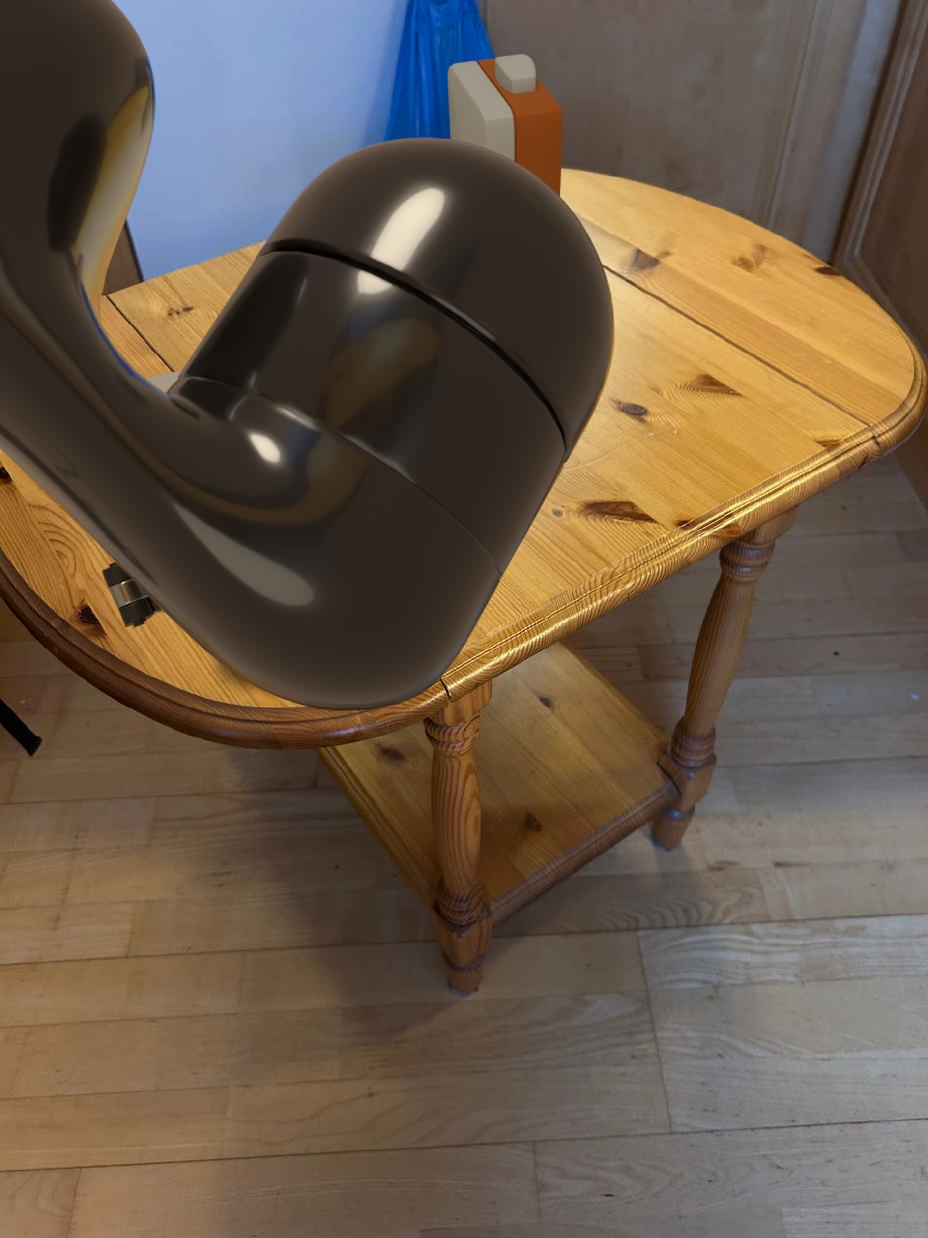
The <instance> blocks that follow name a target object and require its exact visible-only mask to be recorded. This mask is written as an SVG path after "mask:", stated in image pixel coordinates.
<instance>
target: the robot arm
mask: <svg viewBox="0 0 928 1238" xmlns="http://www.w3.org/2000/svg"><path fill="white" fill-rule="evenodd" d="M155 81H156V80H155V76H154V72H153V67H152V64H151V59H150V56H149V54H148V52H147V49H146V48H145V45H144V43H143V41H142V39H141V37H140V35H139V33H138V31H137V30H136V28H135V27H134V25H133V24H132V23H131V22H130V20H129V19H128V17H127V16H126V14H125V13H124V12H123V11H122V10H121V9H120V8H119V6H118V5H117V4H116V3H115V1H113V0H0V450H1V451H2V452H3V453H4V454H5V455H7V456H8V457H9V459H11V460H12V461H13V462H14V464H16V465H17V467H20V469H21V470H23V471H24V472H25V474H27V475H28V476H29V477H30V478H31V479H32V480H33V481H34V482H35V483H37V485H38V486H40V487H41V488H42V489H43V490H44V491H45V492H46V493H47V494H48V495H50V496H51V498H53V499H54V500H55V501H56V502H57V503H58V504H59V505H60V506H61V507H62V508H63V509H64V510H65V511H66V512H67V513H68V514H69V515H70V517H72V519H73V520H75V522H76V523H77V524H78V525H79V526H81V528H82V529H83V530H84V531H85V533H87V534H88V535H89V536H90V537H91V538H92V540H94V541H95V542H96V543H97V544H98V545H99V546H100V548H101V549H102V550H104V552H105V553H106V554H107V555H108V556H109V557H110V558H111V559H112V560H113V561H114V562H112V563H111V562H110V563H109V564H108V566H109V567H107V568H105V569H102V570H101V574H102V576H103V579H104V581H105V583H106V586H107V588H108V590H109V592H110V595H111V597H112V599H113V601H114V604H115V607H116V608H117V610H118V613H119V616H120V617H121V620H122V623H123V626H124V627H125V628H128V627H131V626H133V627H134V629H135V628H138V627H140V626H142V625H144V624H145V622H147V621H148V619H151V618H152V617H153V616H154V615H157V614H159V613H163V614H166V615H167V616H168V617H169V618H170V619H171V620H172V621H173V622H174V623H175V624H176V625H177V626H178V627H179V628H180V629H182V631H184V633H186V634H187V635H188V636H189V637H190V638H191V639H192V640H193V641H194V642H195V643H196V644H197V645H198V646H200V648H201V649H202V650H204V651H205V652H206V653H208V654H209V655H210V656H211V657H213V658H214V659H215V660H217V661H218V662H219V663H220V664H222V665H223V666H224V667H225V668H227V669H228V670H230V671H231V672H232V673H234V674H235V675H236V676H238V677H239V678H241V679H242V680H244V681H246V682H248V683H249V684H251V685H253V686H255V687H256V688H258V689H260V690H262V691H264V692H265V693H268V694H270V695H272V696H275V697H276V698H279V699H282V700H285V701H288V702H290V703H291V702H292V703H294V704H297V705H298V706H304V707H309V708H312V709H313V708H314V709H317V710H325V711H331V712H332V711H334V712H348V711H349V712H351V711H352V712H353V711H355V712H356V711H361V712H362V711H372V710H377V709H382V708H386V707H392V706H397V705H400V704H403V703H405V702H407V701H409V700H412V699H414V698H417V697H419V696H420V695H422V694H423V693H426V692H427V691H428V690H429V689H431V688H432V687H433V686H434V685H435V684H436V683H437V682H438V681H439V680H441V678H443V676H444V675H445V674H446V672H447V671H448V670H449V668H450V667H451V666H452V665H453V663H454V662H455V660H456V659H457V658H458V657H459V655H460V654H461V652H462V651H463V650H464V647H465V645H466V643H467V642H468V640H469V639H470V637H471V635H472V633H473V632H474V630H475V628H476V627H477V625H478V623H479V621H480V619H481V618H482V615H483V614H484V612H485V610H486V609H487V606H488V605H489V603H490V601H491V599H492V597H493V595H494V594H495V592H496V590H497V588H498V586H499V585H500V582H501V579H503V576H504V574H505V572H506V571H507V569H508V567H509V565H510V563H511V562H512V560H513V558H514V556H515V555H516V553H517V552H518V550H519V547H520V546H521V544H522V542H523V541H524V539H525V537H526V535H527V534H528V532H529V530H530V528H531V526H532V525H533V523H534V521H535V520H536V517H537V515H539V513H540V511H541V508H542V507H543V506H544V504H545V501H546V500H547V499H548V496H549V495H550V493H551V492H552V489H553V487H554V485H555V484H556V482H557V480H558V479H559V477H560V475H561V474H562V472H563V470H564V468H565V464H566V463H567V462H568V461H569V459H570V457H571V456H572V455H573V452H574V450H575V448H576V447H577V445H578V443H579V441H580V440H581V437H582V436H583V434H584V432H585V430H586V429H587V427H588V425H589V423H590V421H591V419H592V417H593V416H594V414H595V411H596V410H597V407H598V404H599V402H600V400H601V397H602V394H603V392H604V390H605V387H606V384H607V382H608V377H609V375H610V370H611V367H612V366H611V365H612V361H613V357H614V356H613V355H614V349H615V311H614V303H613V297H612V292H611V288H610V284H609V280H608V277H607V274H606V271H605V268H604V265H603V262H602V260H601V258H600V256H599V255H600V254H599V252H598V251H597V249H596V247H595V244H594V243H593V240H592V238H591V236H590V235H589V233H588V232H587V230H586V228H585V226H584V225H583V223H582V222H581V219H579V217H578V216H577V215H576V213H574V211H573V209H572V208H571V207H570V206H569V205H568V204H567V203H566V201H565V200H564V199H563V198H562V197H561V195H560V196H559V195H558V194H557V193H556V192H555V191H554V190H553V189H552V188H550V187H549V186H548V185H547V184H546V183H545V182H544V181H542V180H541V179H540V178H539V177H537V176H536V175H535V174H533V173H532V172H530V171H529V170H528V169H526V168H525V167H523V166H522V165H520V164H518V163H516V162H514V161H513V160H511V159H509V158H507V157H505V156H503V155H501V154H498V153H496V152H494V151H491V150H489V149H487V148H483V147H480V146H477V145H474V144H471V143H467V142H462V141H457V140H452V139H451V138H442V137H431V136H429V137H428V136H426V137H425V136H424V137H407V138H399V139H397V138H396V139H391V140H387V141H382V142H377V143H374V144H369V145H368V146H365V147H362V148H359V149H356V150H355V151H353V152H350V153H348V154H346V155H344V156H343V157H341V158H339V159H337V160H335V161H334V162H333V163H331V164H329V165H328V166H327V167H325V168H324V169H323V170H321V172H319V173H317V175H315V176H314V177H313V178H312V180H311V181H309V183H308V184H306V186H304V188H303V189H302V190H301V191H300V192H299V193H298V195H297V196H296V197H295V198H294V199H293V201H292V202H291V203H290V205H289V207H288V208H287V209H286V211H285V212H284V213H283V215H282V216H281V218H280V219H279V221H278V222H277V224H276V225H275V227H274V229H272V231H271V232H270V234H269V236H268V238H267V239H266V240H265V242H264V244H263V245H262V247H261V248H260V250H259V251H258V252H257V254H256V256H255V259H254V261H253V262H252V264H251V265H250V267H249V268H248V270H247V271H246V273H245V275H244V276H243V278H242V279H241V281H240V282H239V284H238V285H237V286H236V288H235V289H234V291H233V293H232V294H231V295H230V297H229V299H228V300H227V302H226V303H225V304H224V306H223V308H222V309H221V311H220V312H219V314H218V315H217V317H216V318H215V319H214V321H213V323H212V324H211V326H210V327H209V329H208V330H207V332H206V333H205V334H204V337H203V338H202V340H201V341H200V342H199V344H198V345H197V347H196V348H195V349H194V352H193V353H192V355H191V356H190V358H189V359H188V360H187V362H186V363H185V365H184V366H183V368H182V369H181V370H182V371H181V370H180V371H181V373H180V374H179V376H178V380H177V381H176V382H175V383H174V384H173V385H172V386H171V387H170V388H169V389H168V390H167V391H166V393H165V392H164V391H162V390H161V389H159V388H158V387H157V386H155V385H154V384H153V383H151V382H150V381H148V380H147V379H146V378H147V377H145V376H144V375H142V374H141V373H140V372H139V371H138V370H137V369H136V368H135V367H134V366H133V365H132V364H131V363H130V362H129V361H128V360H127V359H126V358H125V357H124V355H123V354H122V352H121V351H120V350H119V349H118V348H117V346H116V345H115V344H114V342H113V341H112V340H111V338H110V336H109V334H108V332H107V330H106V328H105V326H104V324H103V322H102V317H101V302H102V296H103V292H104V287H105V281H106V278H107V277H106V276H107V274H108V269H109V267H110V264H111V260H112V258H113V254H114V252H115V249H116V246H117V243H118V241H119V238H120V235H121V233H122V230H123V228H124V225H125V223H126V220H127V217H128V215H129V213H130V209H131V207H132V204H133V201H134V199H135V196H136V194H137V191H138V188H139V185H140V182H141V179H142V175H143V172H144V169H145V165H146V161H147V159H148V154H149V151H150V146H151V142H152V139H153V134H154V129H155V119H156V107H157V99H156V97H157V96H156V82H155Z"/></svg>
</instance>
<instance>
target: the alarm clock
mask: <svg viewBox="0 0 928 1238" xmlns="http://www.w3.org/2000/svg"><path fill="white" fill-rule="evenodd" d="M447 90H448V91H447V93H448V113H449V130H450V131H449V132H450V139H452V140H457V141H462V142H467V143H471V144H474V145H477V146H480V147H483V148H487V149H489V150H491V151H494V152H496V153H498V154H501V155H503V156H505V157H507V158H509V159H511V160H513V161H514V162H516V163H518V164H520V165H522V166H523V167H525V168H526V169H528V170H529V171H530V172H532V173H533V174H535V175H536V176H537V177H539V178H540V179H541V180H542V181H544V182H545V183H546V184H547V185H548V186H549V187H550V188H552V189H553V190H554V191H555V192H556V193H557V194H558V195H559V196H560V197H561V186H562V185H561V183H562V161H563V160H562V159H563V134H564V133H563V131H564V115H563V111H562V108H561V105H560V103H559V101H557V99H556V98H555V97H554V95H552V93H550V91H549V90H548V88H547V87H545V85H544V84H543V83H542V81H541V80H540V79H539V78H538V77H537V70H536V65H535V62H534V61H533V59H532V58H531V57H530V56H529V55H527V54H522V53H520V54H518V53H517V54H512V55H503V56H497V57H494V58H487V59H480V60H479V59H478V60H470V61H464V62H457V63H456V62H455V63H453V64H452V65H450V66H449V67H448V71H447Z"/></svg>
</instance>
